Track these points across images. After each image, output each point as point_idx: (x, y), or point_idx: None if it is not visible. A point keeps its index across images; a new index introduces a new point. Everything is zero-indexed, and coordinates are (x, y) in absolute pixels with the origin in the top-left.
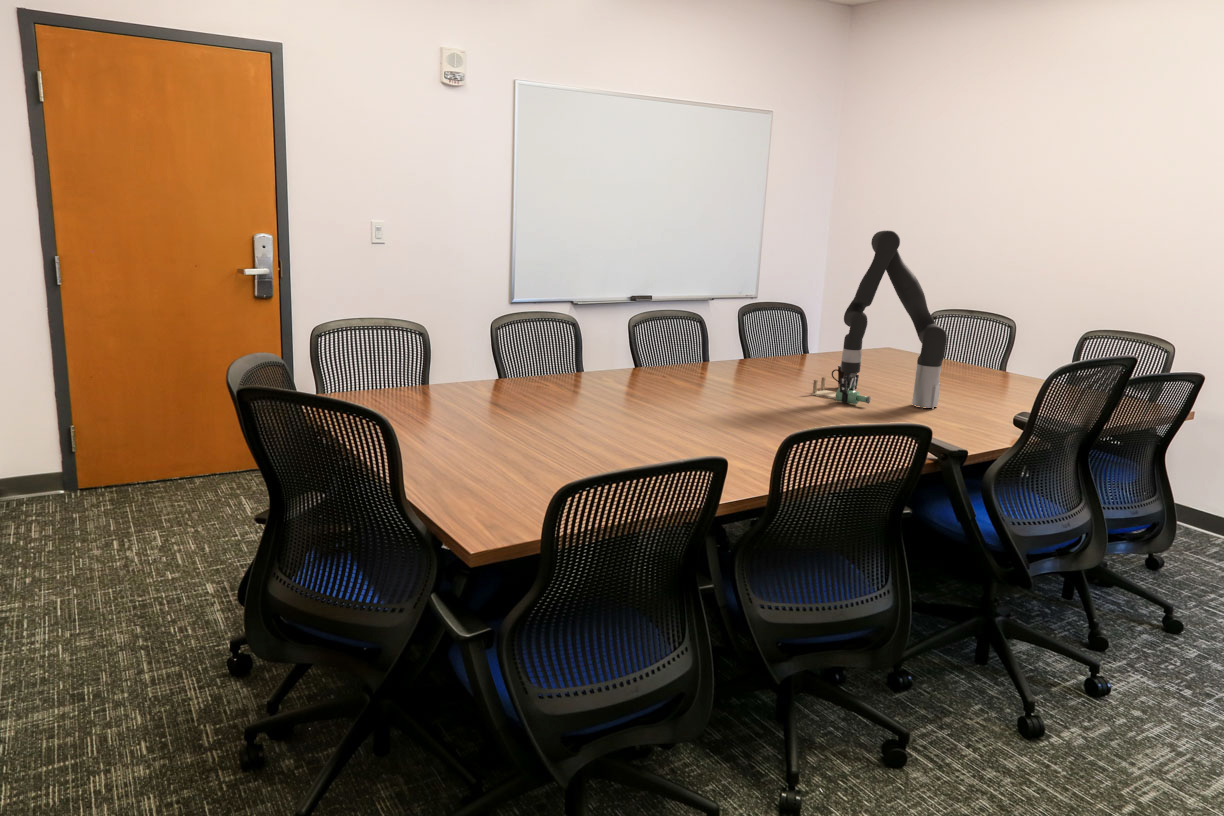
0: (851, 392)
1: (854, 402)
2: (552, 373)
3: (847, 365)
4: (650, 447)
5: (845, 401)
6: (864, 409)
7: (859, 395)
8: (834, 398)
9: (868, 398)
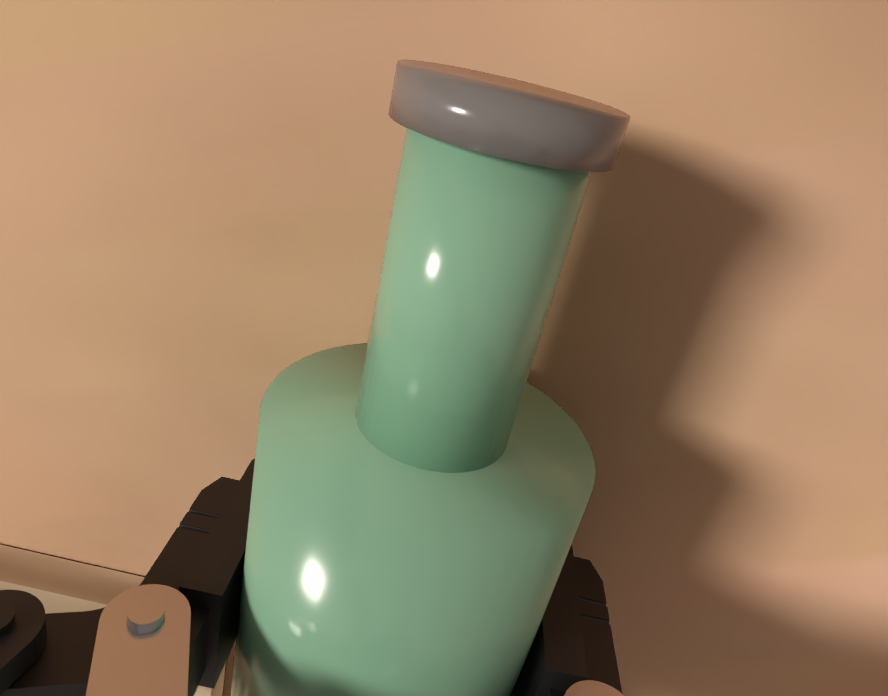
0: (489, 646)
1: (553, 409)
2: None
3: None
4: None
5: (584, 563)
6: (773, 128)
7: (445, 418)
8: (220, 680)
9: (605, 115)
